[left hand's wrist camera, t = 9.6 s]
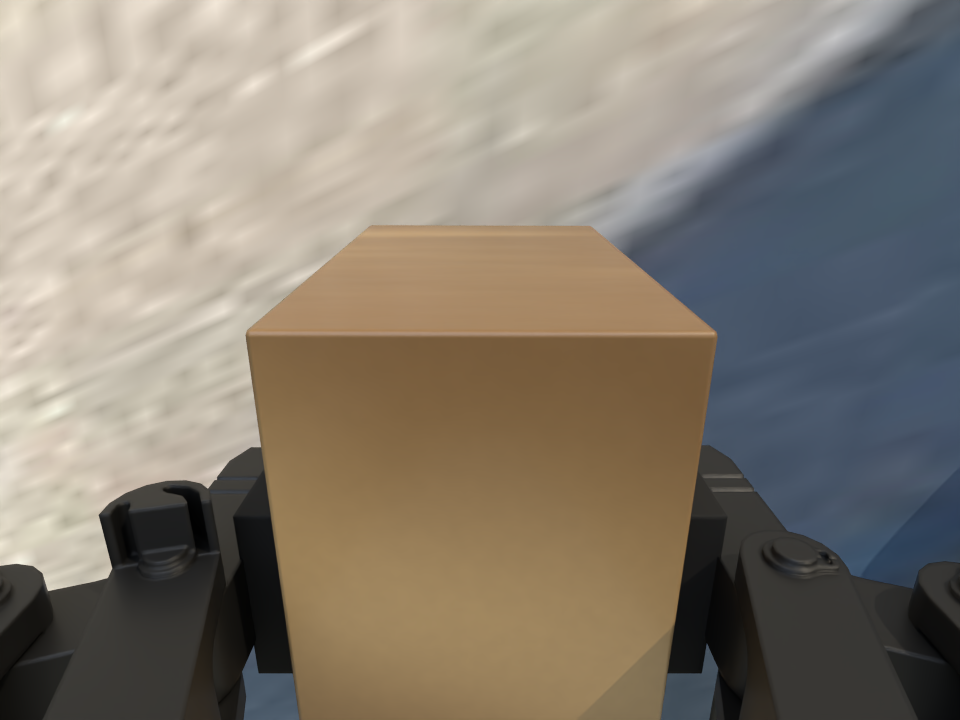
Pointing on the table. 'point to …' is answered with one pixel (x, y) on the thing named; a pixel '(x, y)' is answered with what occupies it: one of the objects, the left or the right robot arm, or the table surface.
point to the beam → (480, 474)
